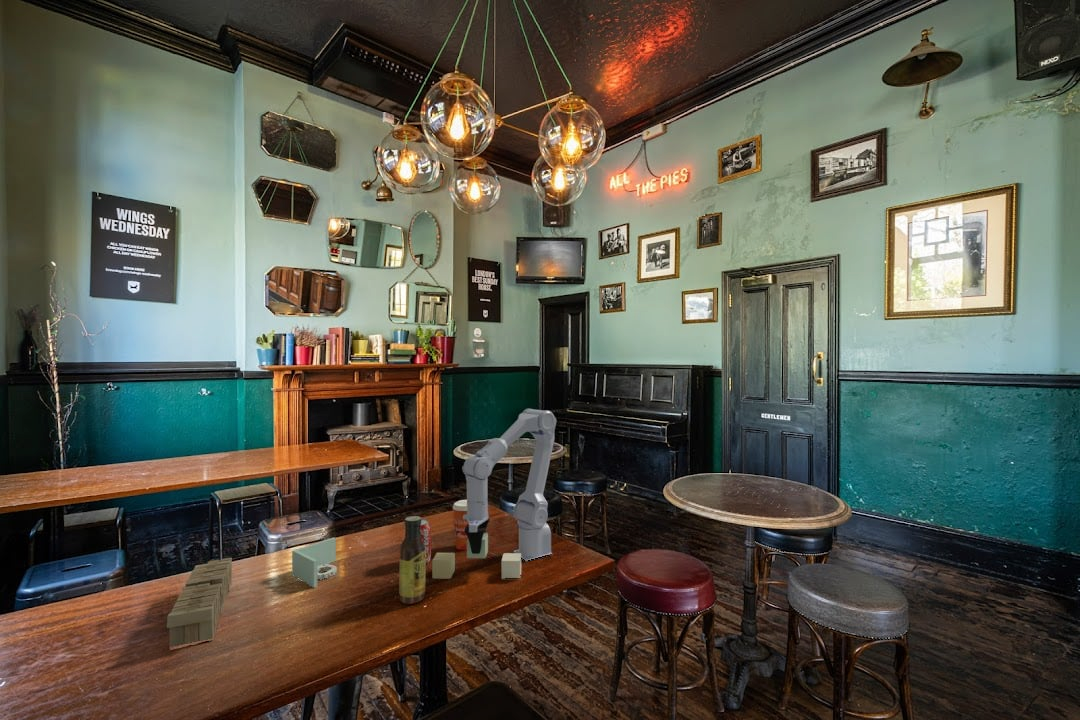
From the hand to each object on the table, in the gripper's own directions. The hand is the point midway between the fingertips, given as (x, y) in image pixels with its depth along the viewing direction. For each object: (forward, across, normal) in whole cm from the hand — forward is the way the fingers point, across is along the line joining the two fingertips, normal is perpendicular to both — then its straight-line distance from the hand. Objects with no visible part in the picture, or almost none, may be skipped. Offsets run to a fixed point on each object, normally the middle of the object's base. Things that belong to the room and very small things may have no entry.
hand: (477, 549), depth 128 cm
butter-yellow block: (+7, 0, -10) cm, 12 cm away
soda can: (+7, -7, -19) cm, 21 cm away
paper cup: (+7, -19, -7) cm, 22 cm away
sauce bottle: (+7, +14, -14) cm, 21 cm away
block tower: (+7, +22, -61) cm, 65 cm away
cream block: (+7, 0, +9) cm, 12 cm away
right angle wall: (+8, 0, -43) cm, 44 cm away
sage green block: (+2, 0, 0) cm, 2 cm away
